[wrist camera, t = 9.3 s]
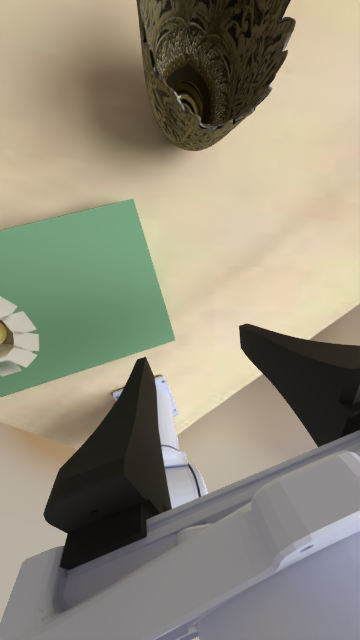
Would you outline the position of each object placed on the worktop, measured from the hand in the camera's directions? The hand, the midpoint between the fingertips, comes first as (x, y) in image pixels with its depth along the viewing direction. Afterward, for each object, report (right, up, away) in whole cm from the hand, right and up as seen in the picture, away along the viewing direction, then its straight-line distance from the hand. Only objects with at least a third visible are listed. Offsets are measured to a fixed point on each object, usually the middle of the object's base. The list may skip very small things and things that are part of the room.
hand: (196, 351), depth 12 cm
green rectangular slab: (-14, +4, +6) cm, 16 cm away
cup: (-1, +19, +2) cm, 20 cm away
